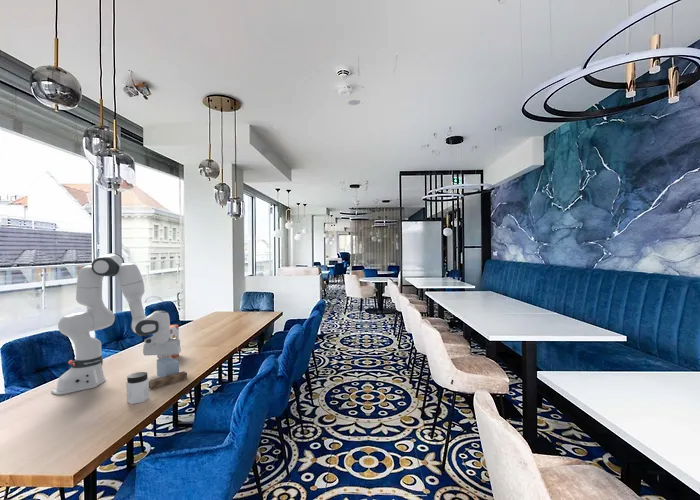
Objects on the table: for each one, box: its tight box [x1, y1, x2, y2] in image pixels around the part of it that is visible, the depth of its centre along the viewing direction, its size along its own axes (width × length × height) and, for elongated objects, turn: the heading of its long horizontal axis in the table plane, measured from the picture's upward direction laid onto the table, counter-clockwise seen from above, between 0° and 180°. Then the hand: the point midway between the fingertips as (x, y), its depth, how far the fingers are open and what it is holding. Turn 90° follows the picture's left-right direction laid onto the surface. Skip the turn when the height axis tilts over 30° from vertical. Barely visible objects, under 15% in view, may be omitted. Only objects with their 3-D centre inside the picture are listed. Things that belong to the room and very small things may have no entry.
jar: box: [125, 371, 150, 405], centre depth 163 cm, size 9×8×12 cm
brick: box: [156, 357, 180, 378], centre depth 193 cm, size 7×14×9 cm, turn 46°
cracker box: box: [161, 324, 180, 359], centre depth 228 cm, size 14×6×21 cm, turn 179°
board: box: [149, 370, 188, 391], centre depth 183 cm, size 18×4×4 cm, turn 140°
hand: (162, 362), depth 200 cm, fingers closed
